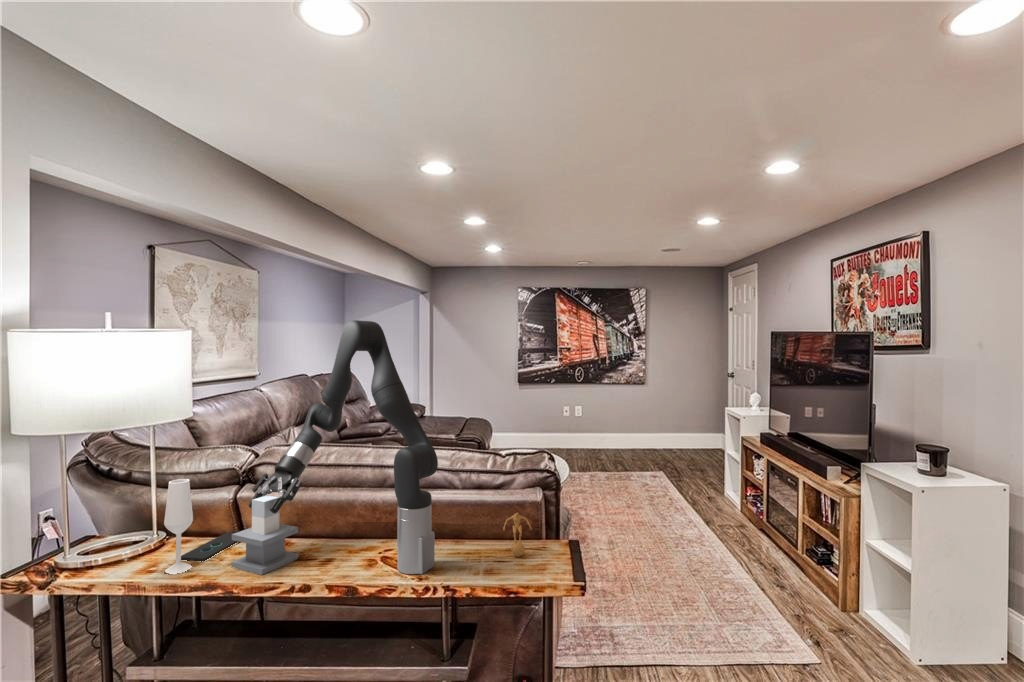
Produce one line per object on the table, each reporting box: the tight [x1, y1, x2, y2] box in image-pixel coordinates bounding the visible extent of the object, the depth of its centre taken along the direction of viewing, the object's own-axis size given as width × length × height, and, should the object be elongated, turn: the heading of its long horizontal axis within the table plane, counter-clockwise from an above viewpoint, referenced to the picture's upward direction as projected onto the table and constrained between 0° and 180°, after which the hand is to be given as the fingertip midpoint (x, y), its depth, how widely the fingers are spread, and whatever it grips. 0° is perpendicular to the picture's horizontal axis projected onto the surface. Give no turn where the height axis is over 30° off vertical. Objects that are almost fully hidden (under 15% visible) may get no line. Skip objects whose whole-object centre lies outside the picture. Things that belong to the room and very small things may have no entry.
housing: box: [251, 494, 280, 535], centre depth 146 cm, size 5×5×9 cm
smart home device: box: [181, 532, 239, 563], centre depth 157 cm, size 8×2×20 cm
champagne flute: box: [163, 478, 194, 575], centre depth 142 cm, size 7×7×24 cm
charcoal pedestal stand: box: [231, 523, 299, 576], centre depth 146 cm, size 12×12×9 cm
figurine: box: [502, 512, 532, 558], centre depth 151 cm, size 8×6×12 cm
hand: (261, 510), depth 145 cm, fingers open, 8 cm apart
